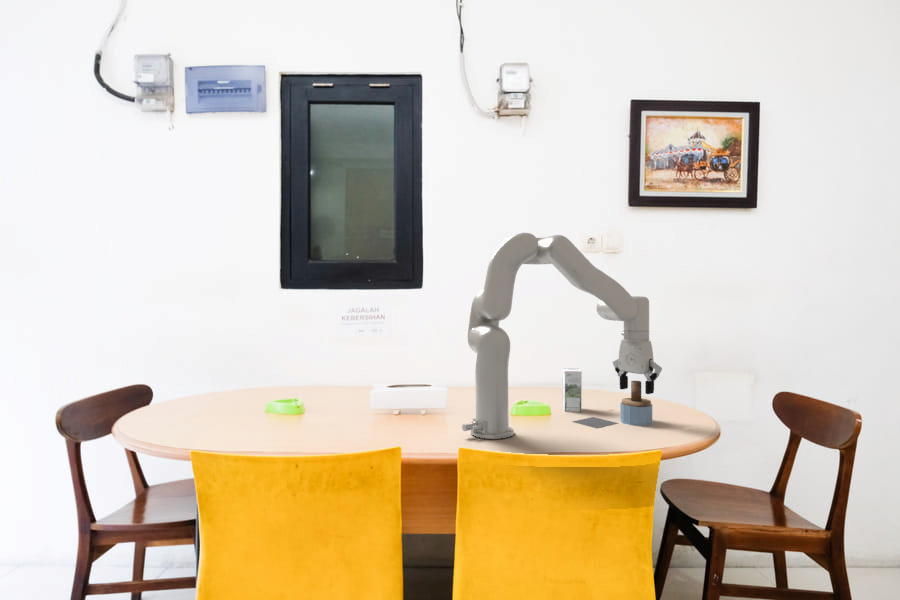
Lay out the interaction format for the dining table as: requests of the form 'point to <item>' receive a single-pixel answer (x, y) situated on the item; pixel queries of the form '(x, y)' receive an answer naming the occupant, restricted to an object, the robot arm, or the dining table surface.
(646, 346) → the robot arm
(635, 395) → the lid
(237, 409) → the dining table surface
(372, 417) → the dining table surface
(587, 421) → the mat
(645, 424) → the blue round pot
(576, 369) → the syrup box
